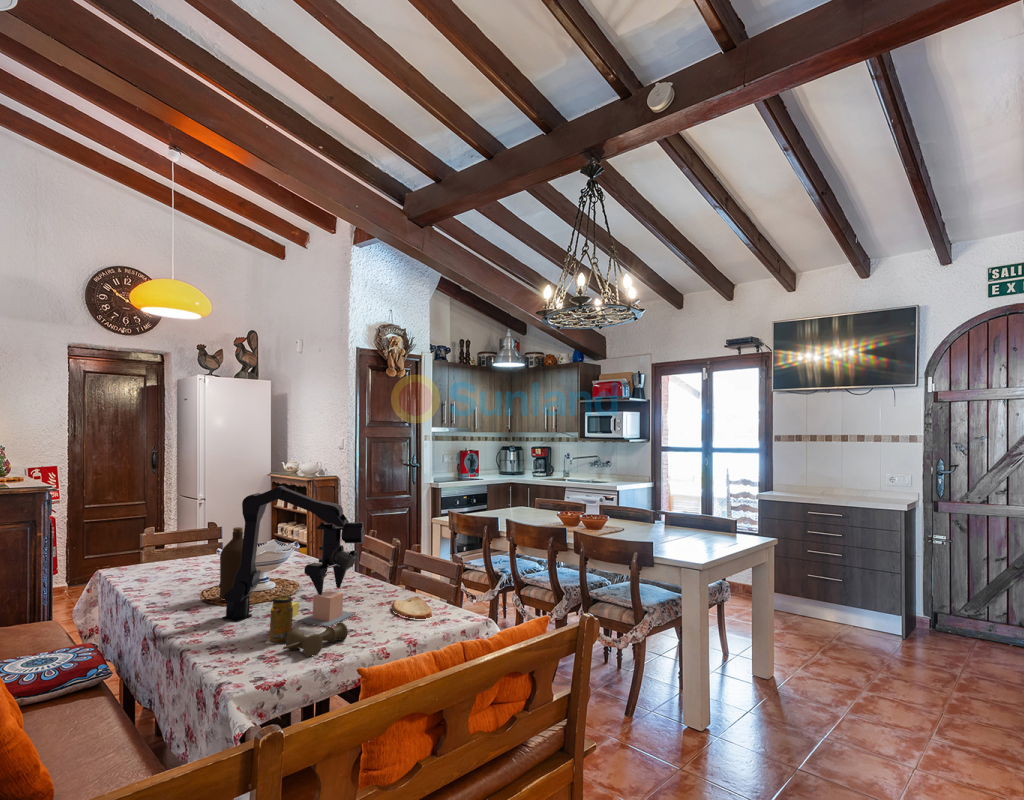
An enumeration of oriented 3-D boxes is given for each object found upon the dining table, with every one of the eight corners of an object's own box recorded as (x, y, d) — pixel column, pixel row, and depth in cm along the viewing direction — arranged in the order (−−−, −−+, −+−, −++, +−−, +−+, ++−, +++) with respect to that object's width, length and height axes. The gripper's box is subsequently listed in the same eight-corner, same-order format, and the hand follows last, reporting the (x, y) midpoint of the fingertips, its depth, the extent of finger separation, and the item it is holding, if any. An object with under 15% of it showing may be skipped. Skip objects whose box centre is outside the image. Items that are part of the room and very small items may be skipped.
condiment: (272, 635, 173) (274, 594, 174) (301, 635, 174) (303, 594, 175) (264, 644, 166) (266, 601, 167) (295, 644, 167) (297, 601, 168)
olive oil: (256, 595, 214) (260, 526, 215) (239, 603, 204) (242, 531, 205) (229, 593, 216) (233, 525, 217) (211, 601, 205) (215, 529, 206)
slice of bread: (429, 623, 189) (429, 611, 190) (377, 617, 193) (378, 606, 194) (447, 607, 207) (447, 596, 207) (399, 602, 211) (400, 592, 211)
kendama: (353, 644, 169) (293, 663, 153) (332, 638, 175) (272, 656, 159) (354, 623, 170) (294, 640, 154) (333, 617, 176) (273, 633, 159)
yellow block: (289, 618, 189) (290, 605, 190) (279, 616, 191) (280, 604, 191) (298, 615, 193) (298, 602, 193) (288, 613, 195) (289, 601, 195)
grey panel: (328, 627, 181) (328, 625, 181) (297, 622, 186) (297, 620, 186) (355, 614, 195) (356, 613, 195) (326, 610, 199) (326, 608, 199)
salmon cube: (329, 621, 186) (330, 598, 186) (312, 618, 188) (313, 595, 189) (342, 615, 192) (343, 593, 192) (325, 612, 194) (326, 590, 195)
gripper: (333, 550, 180) (331, 601, 179) (368, 540, 197) (367, 587, 196) (304, 547, 184) (302, 597, 183) (341, 537, 201) (339, 583, 200)
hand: (329, 591), depth 191 cm, fingers open, 9 cm apart
